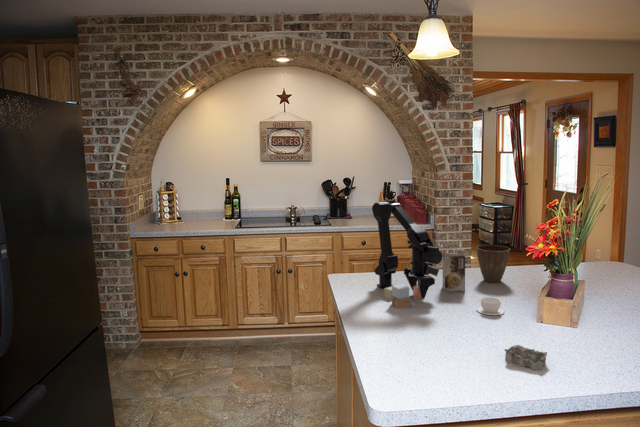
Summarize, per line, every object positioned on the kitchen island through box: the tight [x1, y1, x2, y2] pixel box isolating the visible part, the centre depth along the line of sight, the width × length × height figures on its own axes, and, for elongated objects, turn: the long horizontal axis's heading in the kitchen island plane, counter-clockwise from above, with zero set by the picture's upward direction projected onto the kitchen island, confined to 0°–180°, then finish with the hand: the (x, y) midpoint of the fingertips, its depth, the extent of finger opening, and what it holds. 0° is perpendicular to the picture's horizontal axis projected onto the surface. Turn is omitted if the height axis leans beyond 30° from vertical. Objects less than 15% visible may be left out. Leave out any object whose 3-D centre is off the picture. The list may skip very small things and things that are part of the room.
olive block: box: [383, 287, 392, 300], centre depth 198 cm, size 4×4×4 cm
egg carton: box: [504, 344, 548, 371], centre depth 136 cm, size 11×8×4 cm
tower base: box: [391, 295, 411, 309], centre depth 187 cm, size 6×6×4 cm
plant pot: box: [476, 244, 511, 284], centre depth 218 cm, size 15×15×16 cm
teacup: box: [476, 296, 505, 316], centre depth 178 cm, size 10×10×5 cm
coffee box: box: [442, 252, 466, 292], centre depth 207 cm, size 9×6×16 cm
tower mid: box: [392, 283, 410, 299], centre depth 187 cm, size 5×5×4 cm
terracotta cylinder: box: [412, 285, 423, 300], centre depth 196 cm, size 5×5×5 cm
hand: (418, 295), depth 197 cm, fingers open, 9 cm apart
